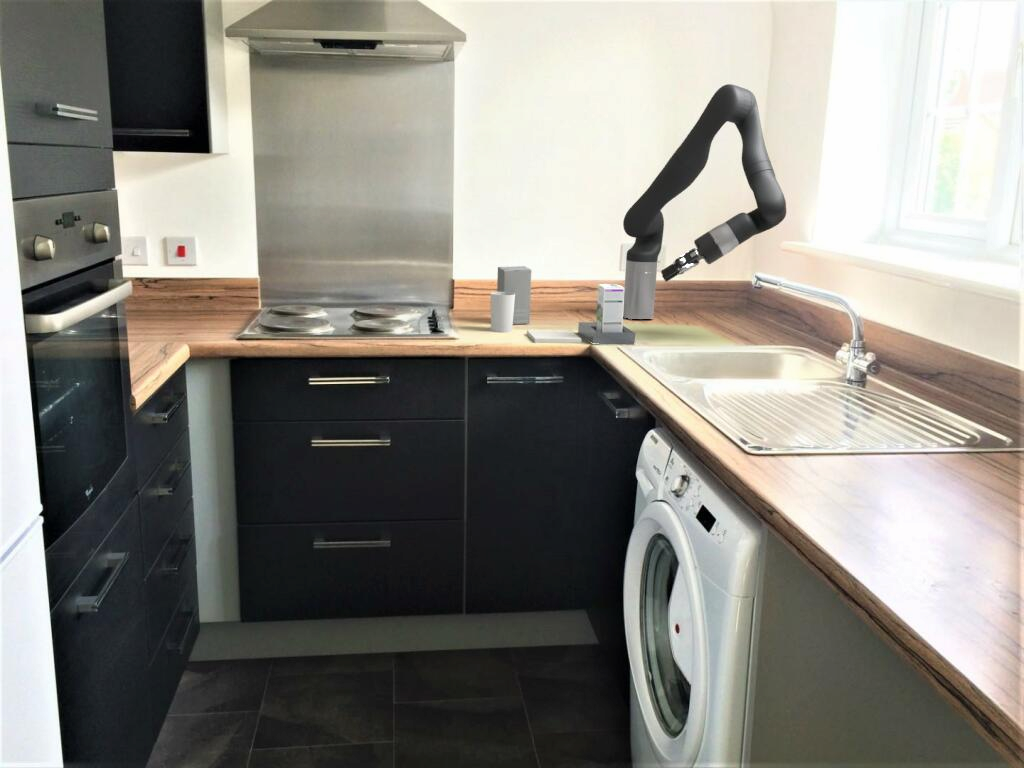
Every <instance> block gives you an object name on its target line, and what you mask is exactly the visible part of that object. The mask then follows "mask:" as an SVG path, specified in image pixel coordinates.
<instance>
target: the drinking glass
mask: <svg viewBox="0 0 1024 768" xmlns="http://www.w3.org/2000/svg"><path fill="white" fill-rule="evenodd" d="M514 302H515V293H511V292H497V291H491V292H490V331H491V332H494V333H511V332H513V325H514V324H513V314H514Z"/></svg>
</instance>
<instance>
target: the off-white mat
mask: <svg viewBox="0 0 1024 768" xmlns="http://www.w3.org/2000/svg"><path fill="white" fill-rule="evenodd" d="M526 335H527V336H528V338H530V339H531V340H532V341H533V342H534V343H536V344H537V343H540V344H541V343H542V344H543V343H546V344H548V343H549V344H553V343H554V344H557V343H558V344H560V343H561V344H562V343H563V344H565V343H567V344H581V343H582V338H581V337H580V336H579V335H578V334H576V333H575V332H573V331H572V330H550V329H548V330H545V329H544V330H543V329H542V330H541V329H537V330H536V329H526Z"/></svg>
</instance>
